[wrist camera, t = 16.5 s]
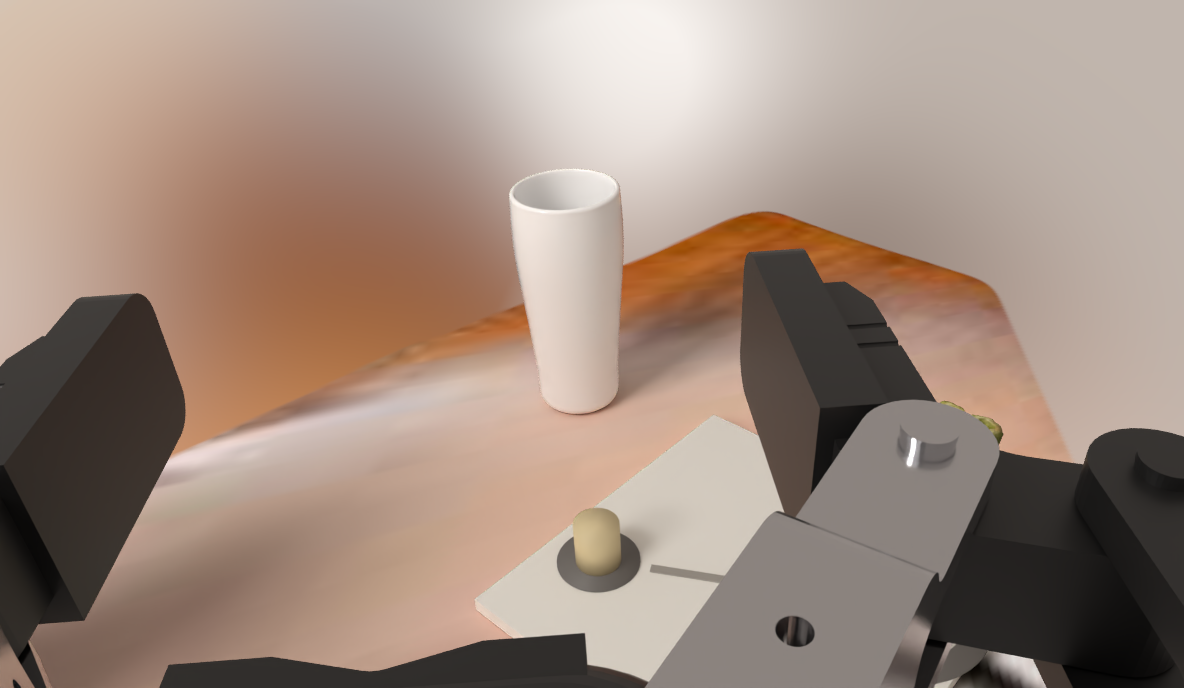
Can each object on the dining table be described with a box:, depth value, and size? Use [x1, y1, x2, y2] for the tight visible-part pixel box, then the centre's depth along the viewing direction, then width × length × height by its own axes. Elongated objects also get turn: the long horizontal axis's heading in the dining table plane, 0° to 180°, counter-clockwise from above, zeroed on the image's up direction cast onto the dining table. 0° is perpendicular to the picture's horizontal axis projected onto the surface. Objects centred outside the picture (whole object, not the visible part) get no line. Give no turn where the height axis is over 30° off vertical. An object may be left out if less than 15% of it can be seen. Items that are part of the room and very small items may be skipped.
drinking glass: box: [509, 169, 623, 414], centre depth 58 cm, size 7×7×15 cm
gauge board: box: [475, 415, 987, 688], centre depth 45 cm, size 20×20×3 cm
